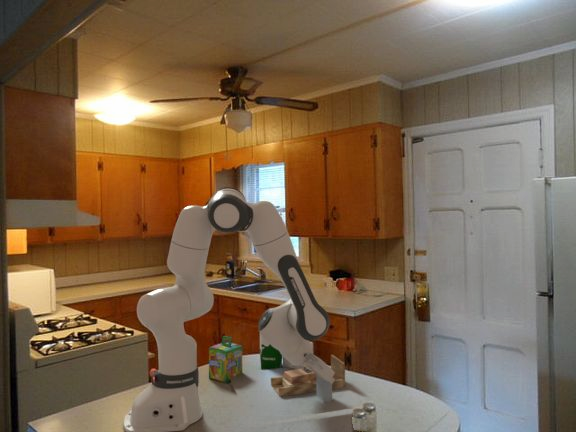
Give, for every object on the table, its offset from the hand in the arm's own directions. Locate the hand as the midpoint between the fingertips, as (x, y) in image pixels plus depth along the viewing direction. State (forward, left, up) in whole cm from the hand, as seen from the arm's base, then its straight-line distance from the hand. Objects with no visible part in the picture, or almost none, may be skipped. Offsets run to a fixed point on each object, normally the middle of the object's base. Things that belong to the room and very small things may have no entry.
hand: (325, 376), depth 139 cm
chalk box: (-27, +32, -8) cm, 42 cm away
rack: (-2, +11, -8) cm, 14 cm away
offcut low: (-6, +11, -7) cm, 14 cm away
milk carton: (-8, +37, -8) cm, 39 cm away
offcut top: (-6, +11, -4) cm, 13 cm away
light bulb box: (+1, +31, -8) cm, 32 cm away
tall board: (-1, 0, -8) cm, 8 cm away
